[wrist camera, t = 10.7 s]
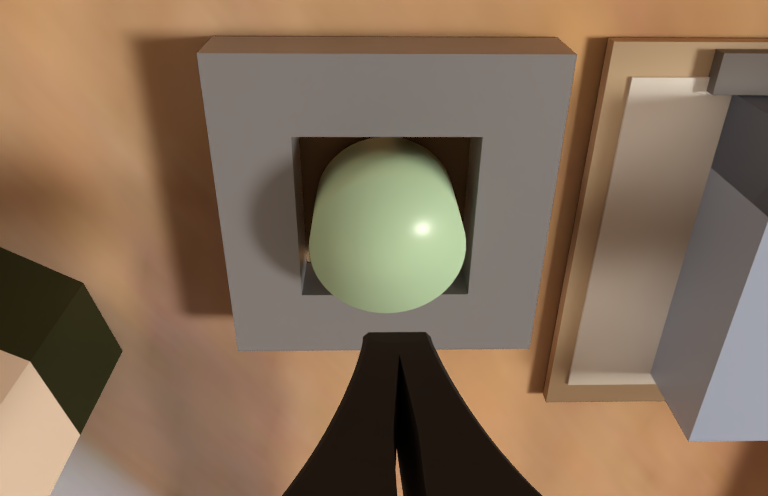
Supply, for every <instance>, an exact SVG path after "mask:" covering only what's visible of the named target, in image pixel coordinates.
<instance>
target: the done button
mask: <svg viewBox="0 0 768 496" xmlns="http://www.w3.org/2000/svg"><path fill="white" fill-rule="evenodd" d="M465 252H466V237H465V231H464V227H463V224H462V220H461V216H460V213H459V209H458V205H457V201H456V198H455V194H454V190H453V187H452V183H451V180H450V177H449V175H448V173H447V171H446V169H445V167H444V166H443V164H442V163H441V162H440V161H439V160H438V158H437V157H436V156H435V155H433V154H432V153H431V152H430V151H429V150H427V149H426V148H424V147H422V146H421V145H419V144H416V143H414V142H412V141H409V140H406V139H401V138H396V137H376V138H370V139H366V140H363V141H360V142H357V143H355V144H353V145H351V146H349V147H347V148H346V149H344V150H342V151H341V152H340V153H339V154H338V155H336V156H335V157H334V158H333V159H332V160H331V162H330V163H329V164H328V165H327V167H326V168H325V170H324V172H323V174H322V176H321V178H320V181H319V184H318V188H317V194H316V200H315V207H314V213H313V220H312V226H311V233H310V239H309V254H310V260H311V263H312V267H313V269H314V271H315V274H316V276H317V277H318V279H319V280H320V282H321V283H322V284H323V286H324V287H325V288H326V289H327V290H328V291H329V292H330V293H331V294H332V295H333V296H335V297H336V298H338V299H339V300H341V301H342V302H344V303H346V304H348V305H350V306H352V307H355V308H357V309H361V310H365V311H369V312H375V313H398V312H403V311H408V310H412V309H415V308H418V307H420V306H423V305H425V304H427V303H429V302H431V301H432V300H434V299H435V298H437V297H438V296H440V295H441V294H442V293H443V292H444V291H445V290H446V289H447V288H448V287H449V286H450V285H451V284H452V283H453V281H454V280H455V278H456V277H457V275H458V274H459V271H460V269H461V267H462V265H463V261H464V258H465Z"/></svg>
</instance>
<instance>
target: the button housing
mask: <svg viewBox="0 0 768 496" xmlns="http://www.w3.org/2000/svg"><path fill="white" fill-rule="evenodd" d="M576 58H577V54H576V53H575V52H574V51H572V50H571V49H570V48H569V47H568V46H567V45H566V44H564V43H563V42H562V41H561V40H560V39H559V38H558V37H330V36H212V37H211V38H210V39H209V40H208V41H207V42H206V44H205V45H204V46H203V47H202V48H201V49H200V50H199V51H198V52H197V60H198V68H199V75H200V82H201V89H202V96H203V104H204V111H205V118H206V125H207V132H208V139H209V147H210V154H211V161H212V168H213V175H214V183H215V190H216V197H217V204H218V211H219V218H220V226H221V233H222V240H223V247H224V254H225V262H226V269H227V276H228V283H229V290H230V297H231V305H232V312H233V319H234V326H235V333H236V341H237V348H238V351H318V350H361V347H362V342H363V336H364V335H366V334H367V333H368V332H426V333H427V334H428V335H429V336H430V337H431V340H432V342H433V345H434V347H435V349H436V350H437V349H529V348H530V342H531V336H532V330H533V324H534V317H535V311H536V305H537V299H538V293H539V286H540V280H541V274H542V268H543V262H544V255H545V249H546V243H547V237H548V231H549V225H550V218H551V212H552V206H553V200H554V194H555V187H556V181H557V175H558V169H559V163H560V157H561V150H562V144H563V138H564V132H565V126H566V119H567V113H568V107H569V101H570V95H571V88H572V82H573V76H574V70H575V64H576ZM299 137H471V139H470V151H469V163H468V175H467V187H466V199H465V211H464V223H463V227H464V231H465V237H466V252H465V258H464V261H463V265H462V267H461V269H460V271H459V274H458V275H457V277H456V278H455V280H454V281H453V283H452V284H451V285H450V286H449V287H448V288H447V289H446V290H445V291H444V292H443V293H442V294H441V295H440V296H438V297H437V298H435V299H434V300H432V301H431V302H429V303H427V304H425V305H423V306H420V307H418V308H415V309H412V310H408V311H403V312H398V313H375V312H369V311H365V310H361V309H357V308H355V307H352V306H350V305H348V304H346V303H344V302H342V301H341V300H339V299H338V298H336V297H335V296H333V295H332V294H331V293H330V292H329V291H328V290H327V289H326V288H325V287H324V286H323V284H322V283H321V282H320V280H319V279H318V277H317V276H316V274H315V271H314V269H313V267H312V263H307V258H306V242H305V226H304V210H303V194H302V178H301V162H300V146H299Z"/></svg>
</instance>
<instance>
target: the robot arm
mask: <svg viewBox="0 0 768 496" xmlns="http://www.w3.org/2000/svg"><path fill="white" fill-rule="evenodd" d="M396 450H397V453H398V461H399V468H400V475H401V482H402V489H403V496H542V495H541V494H540V493H539V492H538V491H537V490H536V489H535V488H534V487H533V486H532V485H531V484H530V483H529V482H528V481H527V480H526V479H525V478H524V477H523V476H522V475H521V474H520V473H519V471H518V470H517V469H516V468H515V467H514V466H513V465H512V464H511V463H510V461H509V460H508V459H507V458H506V457H505V456H504V454H503V453H502V452H501V451H500V450H499V449H498V447H497V446H496V445H495V444H494V442H493V441H492V440H491V438H490V437H489V436H488V434H487V433H486V432H485V430H484V429H483V428H482V426H481V425H480V424H479V422H478V421H477V419H476V418H475V417H474V415H473V414H472V412H471V411H470V409H469V408H468V406H467V405H466V403H465V402H464V400H463V398H462V397H461V395H460V394H459V392H458V390H457V389H456V387H455V385H454V384H453V382H452V380H451V379H450V377H449V375H448V373H447V371H446V370H445V368H444V366H443V364H442V362H441V360H440V358H439V356H438V354H437V352H436V349H435V347H434V345H433V342H432V340H431V337H430V336H429V335H428V334H427V333H426V332H368V333H367V334H366V335H364V336H363V342H362V347H361V352H360V355H359V359H358V362H357V365H356V367H355V370H354V373H353V376H352V378H351V380H350V383H349V385H348V387H347V390H346V392H345V394H344V397H343V399H342V401H341V403H340V405H339V407H338V409H337V411H336V413H335V415H334V417H333V418H332V420H331V422H330V424H329V426H328V428H327V430H326V432H325V433H324V435H323V437H322V438H321V440H320V442H319V443H318V445H317V447H316V448H315V450H314V451H313V453H312V455H311V456H310V458H309V459H308V461H307V462H306V464H305V465H304V467H303V468H302V469H301V471H300V472H299V473H298V475H297V476H296V478H295V479H294V480H293V482H292V483H291V484H290V486H289V487H288V489H287V490H286V491H285V492H284V494H283V495H282V496H397V487H396V472H395V466H396Z"/></svg>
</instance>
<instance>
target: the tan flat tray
mask: <svg viewBox="0 0 768 496" xmlns="http://www.w3.org/2000/svg"><path fill="white" fill-rule="evenodd" d="M732 95H768V38H608V43H607V48H606V54H605V59H604V64H603V70H602V75H601V81H600V86H599V92H598V97H597V102H596V108H595V113H594V119H593V124H592V130H591V135H590V140H589V146H588V151H587V157H586V162H585V168H584V173H583V179H582V184H581V189H580V195H579V200H578V206H577V211H576V217H575V222H574V227H573V233H572V238H571V244H570V249H569V255H568V260H567V265H566V271H565V276H564V282H563V287H562V293H561V298H560V303H559V309H558V314H557V320H556V325H555V331H554V336H553V342H552V347H551V352H550V358H549V363H548V369H547V374H546V380H545V385H544V390H543V395H544V398H545V401H546V402H622V401H665V399H664V397H663V395H662V394H661V392H660V390H659V388H658V387H657V385H656V383H655V381H654V380H653V378H652V376H651V374H650V372H651V369H652V366H653V362H654V359H655V355H656V352H657V349H658V345H659V342H660V338H661V335H662V332H663V328H664V325H665V321H666V318H667V315H668V311H669V308H670V304H671V301H672V298H673V294H674V291H675V287H676V284H677V281H678V277H679V274H680V270H681V267H682V264H683V260H684V257H685V253H686V250H687V247H688V243H689V240H690V236H691V233H692V230H693V226H694V223H695V220H696V216H697V213H698V209H699V206H700V203H701V199H702V196H703V192H704V189H705V186H706V182H707V179H708V175H709V172H710V169H711V165H712V162H713V158H714V155H715V152H716V148H717V145H718V141H719V138H720V135H721V131H722V128H723V124H724V121H725V118H726V114H727V111H728V107H729V104H730V101H731V97H732Z"/></svg>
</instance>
